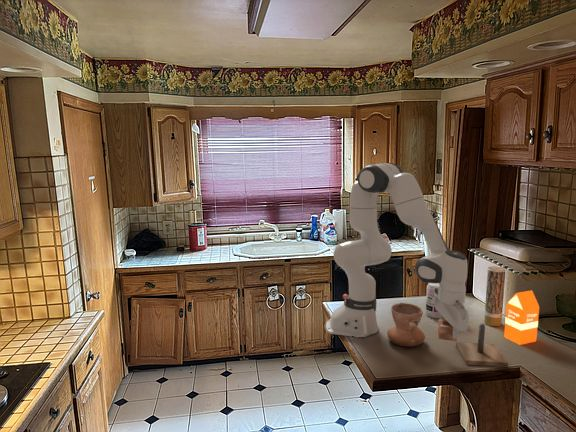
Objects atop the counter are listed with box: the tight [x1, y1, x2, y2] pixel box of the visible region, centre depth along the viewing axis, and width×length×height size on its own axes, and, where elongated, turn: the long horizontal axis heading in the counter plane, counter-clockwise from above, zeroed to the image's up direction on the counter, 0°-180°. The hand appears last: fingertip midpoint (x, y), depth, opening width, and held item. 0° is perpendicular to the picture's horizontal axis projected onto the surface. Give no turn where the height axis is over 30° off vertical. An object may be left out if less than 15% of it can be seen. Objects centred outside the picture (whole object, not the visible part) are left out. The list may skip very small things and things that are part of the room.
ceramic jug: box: [386, 302, 426, 348], centre depth 169 cm, size 18×14×14 cm
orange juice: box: [503, 289, 540, 346], centre depth 169 cm, size 8×9×20 cm
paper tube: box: [483, 266, 506, 327], centre depth 183 cm, size 7×7×25 cm
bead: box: [437, 318, 458, 342], centre depth 154 cm, size 6×6×5 cm
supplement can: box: [425, 283, 441, 319], centre depth 194 cm, size 8×8×15 cm
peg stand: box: [455, 323, 508, 367], centre depth 157 cm, size 14×14×12 cm
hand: (449, 331), depth 154 cm, fingers closed on bead, 7 cm apart
